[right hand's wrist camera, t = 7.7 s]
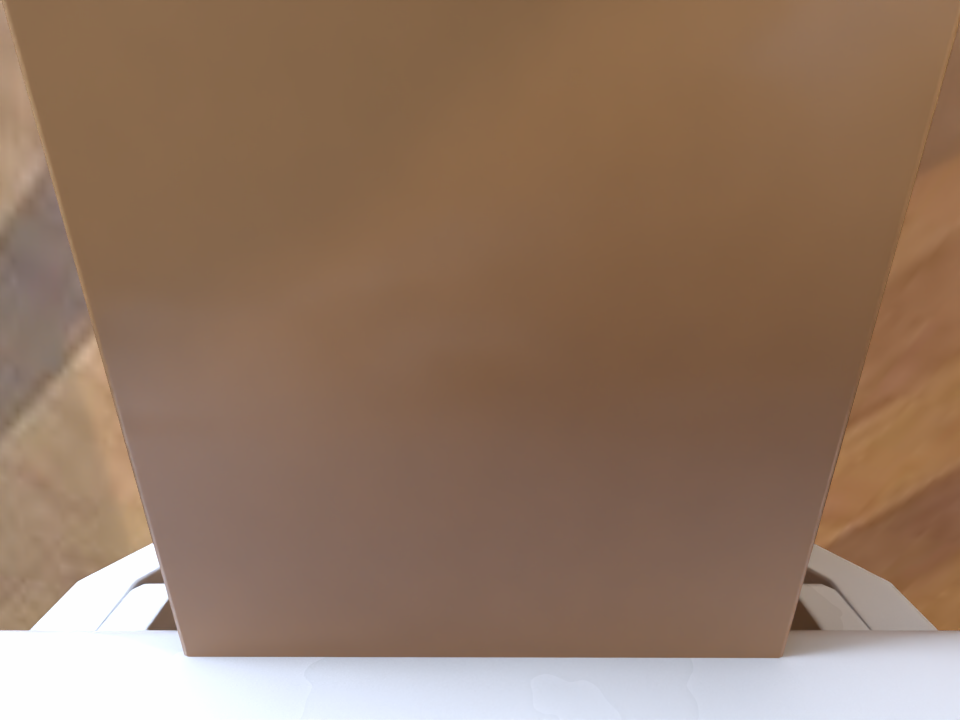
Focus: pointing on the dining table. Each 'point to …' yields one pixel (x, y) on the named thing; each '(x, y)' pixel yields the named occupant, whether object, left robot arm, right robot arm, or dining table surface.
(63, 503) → the dining table surface
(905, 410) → the dining table surface
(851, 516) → the dining table surface
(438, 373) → the box
